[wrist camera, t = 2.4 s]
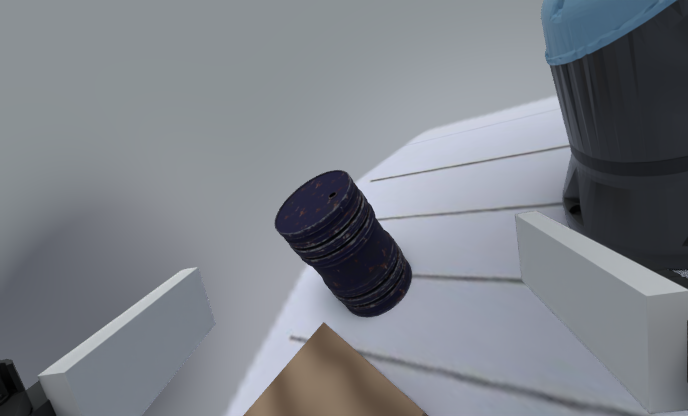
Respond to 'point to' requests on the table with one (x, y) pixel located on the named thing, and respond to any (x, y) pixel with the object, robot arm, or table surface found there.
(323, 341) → the walnut plinth
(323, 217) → the dark blue cylinder
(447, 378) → the table surface
